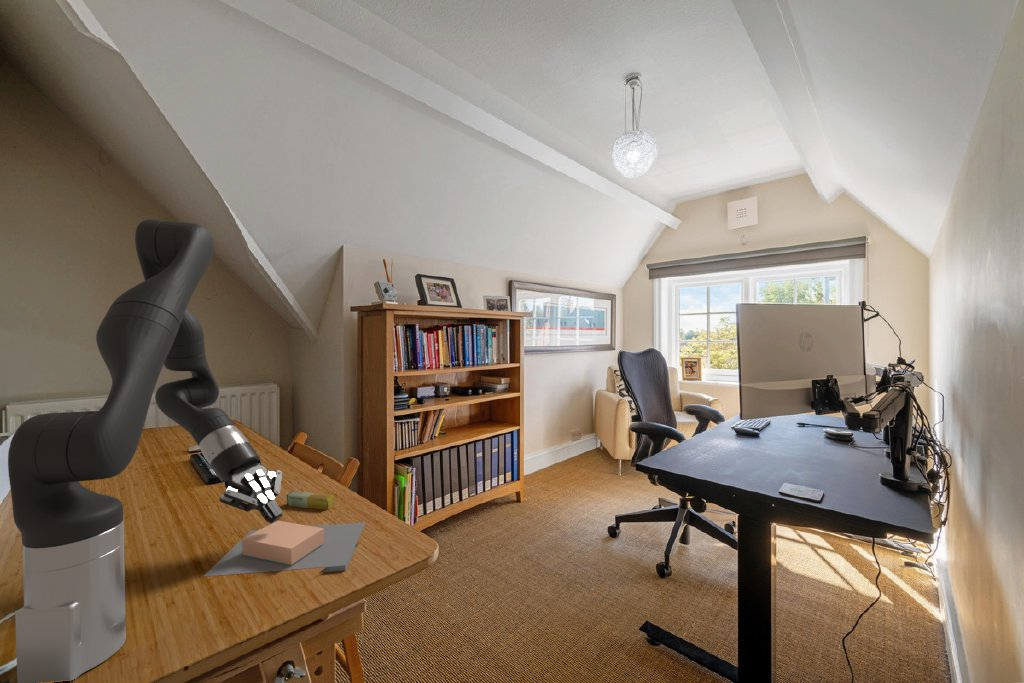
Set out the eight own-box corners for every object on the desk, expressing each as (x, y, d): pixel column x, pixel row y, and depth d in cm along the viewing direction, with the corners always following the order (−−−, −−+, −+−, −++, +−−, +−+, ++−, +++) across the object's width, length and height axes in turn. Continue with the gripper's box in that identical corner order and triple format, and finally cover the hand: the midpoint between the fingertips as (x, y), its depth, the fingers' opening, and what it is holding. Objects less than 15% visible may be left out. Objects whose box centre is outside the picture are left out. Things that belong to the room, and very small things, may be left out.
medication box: (285, 510, 100) (285, 494, 100) (294, 505, 103) (293, 490, 102) (328, 515, 97) (327, 499, 97) (335, 510, 100) (335, 494, 100)
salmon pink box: (241, 539, 77) (291, 548, 74) (277, 520, 85) (323, 528, 81) (242, 556, 77) (291, 566, 74) (277, 535, 85) (324, 544, 81)
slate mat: (345, 570, 74) (345, 565, 74) (203, 582, 71) (202, 576, 71) (366, 526, 91) (366, 522, 91) (251, 534, 88) (251, 529, 87)
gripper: (206, 450, 76) (257, 523, 72) (267, 433, 88) (313, 495, 85) (186, 475, 77) (235, 547, 74) (249, 455, 90) (293, 516, 87)
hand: (277, 519), depth 80 cm, fingers closed
